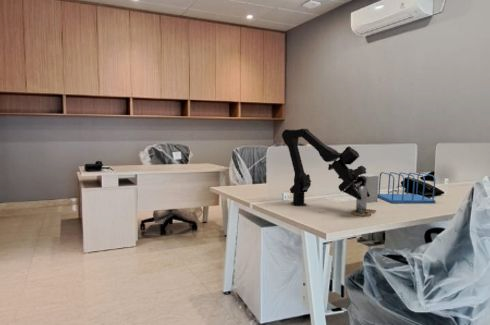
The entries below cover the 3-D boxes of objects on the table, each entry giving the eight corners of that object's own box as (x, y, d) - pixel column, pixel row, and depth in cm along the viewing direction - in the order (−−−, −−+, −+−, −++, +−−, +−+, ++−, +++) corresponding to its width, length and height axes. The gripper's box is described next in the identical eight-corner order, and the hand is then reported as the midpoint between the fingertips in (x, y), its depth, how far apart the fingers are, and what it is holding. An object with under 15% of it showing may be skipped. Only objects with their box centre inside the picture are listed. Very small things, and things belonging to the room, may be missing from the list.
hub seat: (344, 213, 163) (344, 209, 163) (366, 212, 165) (366, 209, 165) (355, 219, 153) (355, 215, 152) (378, 218, 154) (378, 214, 154)
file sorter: (391, 203, 187) (392, 175, 185) (376, 197, 204) (377, 171, 203) (435, 203, 189) (437, 175, 188) (417, 197, 206) (418, 171, 205)
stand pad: (356, 212, 164) (356, 211, 164) (358, 209, 171) (359, 208, 171) (374, 214, 161) (374, 213, 161) (376, 211, 168) (376, 210, 168)
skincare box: (369, 200, 194) (370, 173, 193) (377, 202, 189) (379, 175, 188) (358, 201, 190) (359, 174, 189) (367, 203, 185) (368, 175, 184)
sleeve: (354, 213, 161) (356, 185, 160) (364, 213, 161) (366, 185, 159) (356, 215, 157) (358, 186, 156) (366, 216, 156) (368, 187, 155)
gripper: (346, 161, 152) (369, 189, 146) (363, 158, 166) (386, 184, 160) (329, 177, 158) (351, 205, 152) (347, 173, 172) (368, 199, 166)
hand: (364, 198), depth 157 cm, fingers open, 9 cm apart
